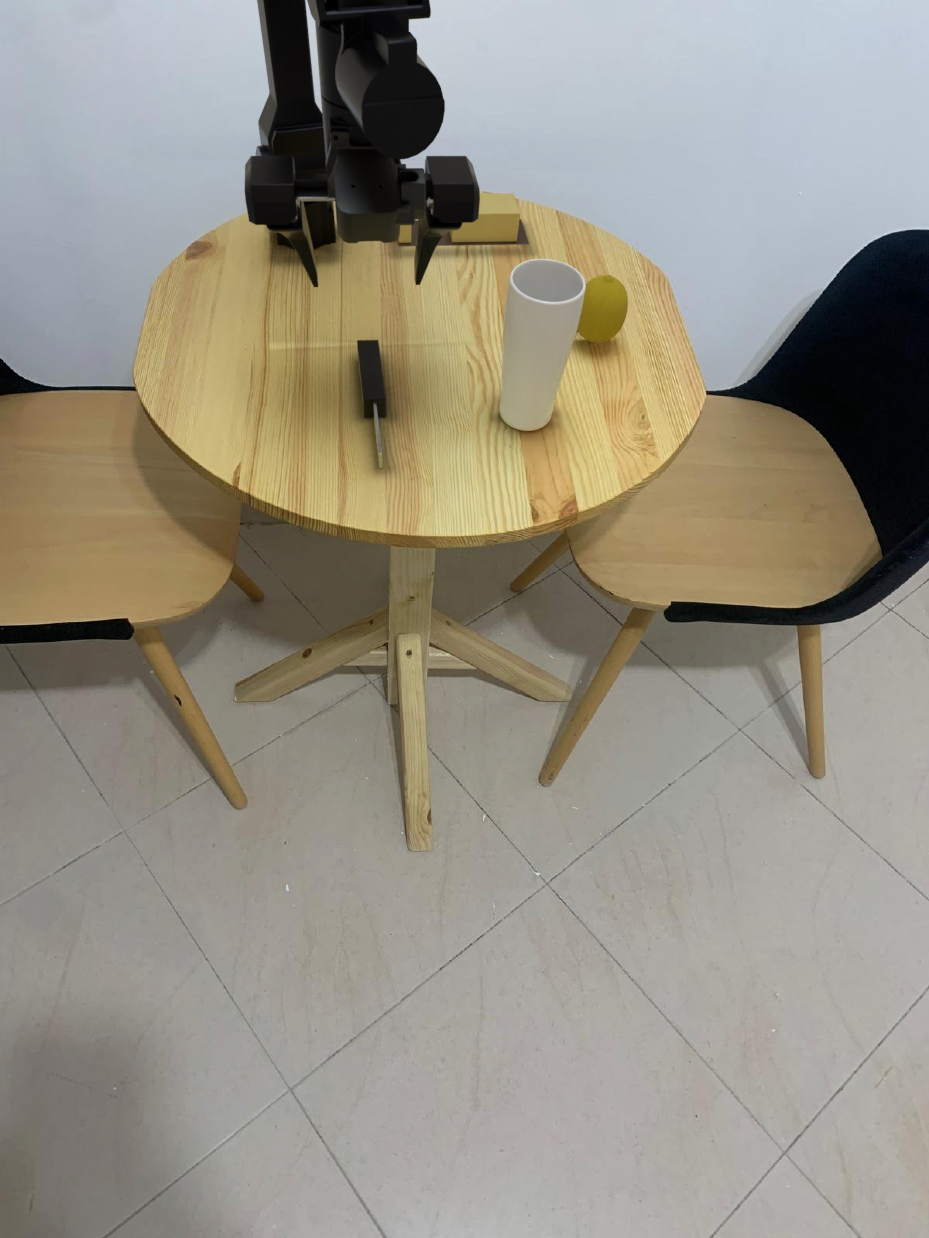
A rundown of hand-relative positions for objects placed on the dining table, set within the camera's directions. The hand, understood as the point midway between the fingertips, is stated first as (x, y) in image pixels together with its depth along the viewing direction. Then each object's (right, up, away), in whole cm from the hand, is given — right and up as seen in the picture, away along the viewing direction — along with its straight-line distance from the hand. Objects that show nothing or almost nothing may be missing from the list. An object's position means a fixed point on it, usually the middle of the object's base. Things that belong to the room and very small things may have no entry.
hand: (367, 283), depth 71 cm
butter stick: (+11, +17, +24) cm, 31 cm away
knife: (0, -10, +7) cm, 12 cm away
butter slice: (+1, +16, +23) cm, 28 cm away
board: (+8, +16, +25) cm, 31 cm away
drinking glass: (+15, -10, +8) cm, 20 cm away
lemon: (+23, 0, +15) cm, 28 cm away
